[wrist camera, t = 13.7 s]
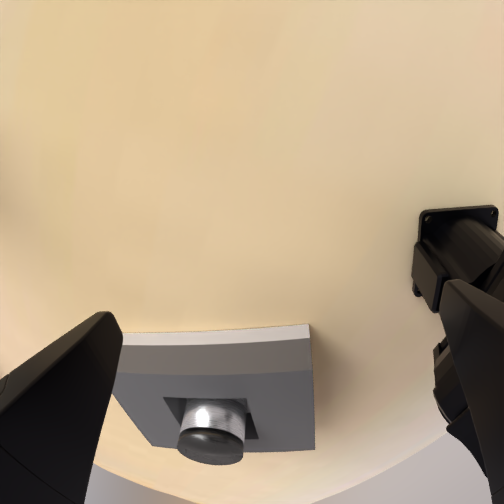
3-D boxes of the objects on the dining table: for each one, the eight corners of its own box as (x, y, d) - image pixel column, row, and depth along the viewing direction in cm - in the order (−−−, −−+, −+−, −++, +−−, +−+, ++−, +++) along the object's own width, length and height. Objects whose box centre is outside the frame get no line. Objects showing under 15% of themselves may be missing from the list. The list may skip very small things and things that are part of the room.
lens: (241, 374, 24) (234, 438, 19) (252, 407, 27) (248, 465, 22) (182, 376, 25) (167, 436, 20) (199, 408, 27) (189, 463, 22)
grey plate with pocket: (308, 323, 23) (312, 369, 19) (313, 411, 29) (315, 449, 25) (116, 332, 26) (96, 370, 22) (162, 412, 31) (152, 446, 27)
